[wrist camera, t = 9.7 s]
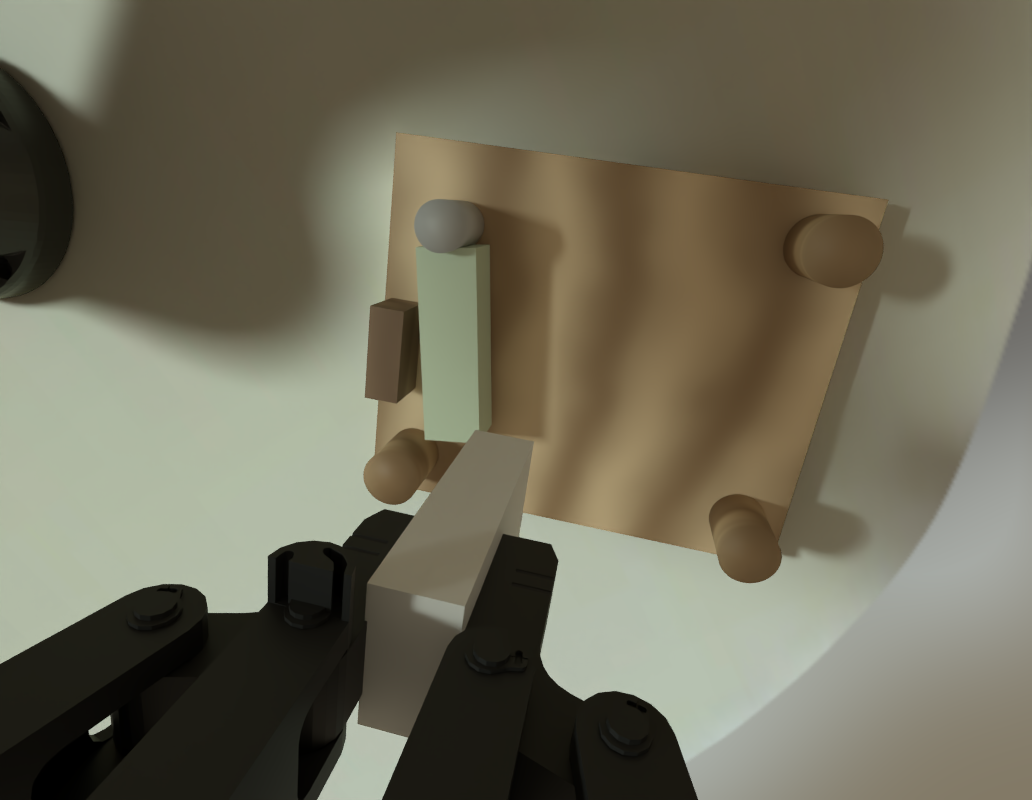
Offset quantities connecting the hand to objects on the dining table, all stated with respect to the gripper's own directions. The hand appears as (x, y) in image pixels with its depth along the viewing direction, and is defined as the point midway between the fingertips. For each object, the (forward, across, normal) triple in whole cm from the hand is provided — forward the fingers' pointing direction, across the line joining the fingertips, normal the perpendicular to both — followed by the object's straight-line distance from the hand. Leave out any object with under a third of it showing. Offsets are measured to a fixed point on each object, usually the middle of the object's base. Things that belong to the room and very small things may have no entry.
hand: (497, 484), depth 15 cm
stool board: (+20, +2, -1) cm, 20 cm away
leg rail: (+18, -6, 0) cm, 19 cm away
